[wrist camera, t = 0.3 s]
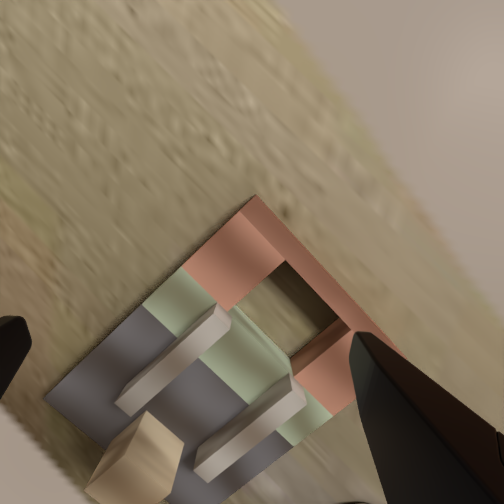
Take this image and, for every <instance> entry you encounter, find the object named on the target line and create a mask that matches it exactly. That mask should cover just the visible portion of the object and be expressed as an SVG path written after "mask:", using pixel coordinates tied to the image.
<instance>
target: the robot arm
mask: <svg viewBox="0 0 504 504" xmlns="http://www.w3.org/2000/svg"><path fill="white" fill-rule="evenodd" d="M31 345H32V339H31V336H30V333H29V330H28V327H27V323H26V321H25V319H24V318H23V317H21V316H3V317H1V318H0V399H1V398H2V396H3V394H4V393H5V391H6V389H7V388H8V386H9V384H10V383H11V381H12V379H13V377H14V376H15V374H16V372H17V371H18V369H19V367H20V366H21V364H22V362H23V360H24V359H25V357H26V355H27V354H28V352H29V350H30V348H31ZM349 365H350V370H351V375H352V380H353V385H354V390H355V395H356V400H357V405H358V409H359V414H360V418H361V422H362V425H363V428H364V432H365V435H366V438H367V441H368V444H369V447H370V450H371V454H372V457H373V460H374V463H375V466H376V469H377V472H378V475H379V479H380V482H381V485H382V488H383V491H384V494H385V497H386V501H387V504H504V435H503V434H502V433H501V432H496V429H495V428H494V427H493V426H491V425H490V424H489V423H488V422H486V421H485V420H484V419H482V418H481V417H480V416H479V415H477V414H476V413H475V412H473V411H472V410H471V409H470V408H468V407H467V406H466V405H464V404H463V403H462V402H460V401H459V400H458V399H457V398H455V397H454V396H453V395H451V394H450V393H449V392H448V391H446V390H445V389H444V388H442V387H441V386H440V385H439V384H437V383H436V382H435V381H433V380H432V379H431V378H429V377H428V376H427V375H426V374H424V373H423V372H422V371H420V370H419V369H418V368H417V367H415V366H414V365H413V364H411V363H410V362H409V361H408V360H406V359H405V358H404V357H402V356H401V355H400V354H399V353H397V352H396V351H395V350H393V349H392V348H391V347H389V346H388V345H387V344H386V343H384V342H383V341H382V340H380V339H379V338H378V337H377V336H375V335H374V334H373V333H371V332H365V331H356V332H355V333H354V335H353V338H352V343H351V347H350V352H349Z"/></svg>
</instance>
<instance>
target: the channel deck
mask: <svg viewBox="0 0 504 504" xmlns="http://www.w3.org/2000/svg"><path fill="white" fill-rule="evenodd" d="M284 260H286V261H287V262H288V263H289V264H290V265H291V266H292V267H293V268H294V269H295V270H296V271H297V272H298V274H299V275H300V276H301V277H302V278H303V279H304V280H305V281H306V282H307V283H308V284H309V285H310V286H311V287H312V288H313V289H314V290H315V292H316V293H317V294H318V295H319V296H320V297H321V298H322V299H323V300H324V301H325V302H326V303H327V304H328V305H329V306H330V307H331V308H332V310H333V311H334V312H335V313H336V314H337V315H338V316H339V318H338V319H337V320H336V321H334V322H333V323H332V324H331V325H330V326H328V327H327V328H326V329H325V330H324V331H322V332H321V333H320V334H319V335H318V336H316V337H315V338H314V339H313V340H312V341H310V342H309V343H308V344H307V345H306V346H304V347H303V348H302V349H301V350H300V351H298V352H297V353H296V354H295V355H294V356H292V357H291V358H289V357H288V356H287V355H286V354H285V353H284V352H283V351H282V350H281V349H280V348H279V347H278V346H277V345H276V344H275V343H274V342H273V341H272V340H271V339H270V338H269V337H267V336H266V335H265V334H264V333H263V332H262V331H261V330H260V329H259V328H258V327H257V326H256V325H255V324H254V323H253V322H252V321H251V320H250V319H249V318H248V317H247V316H246V315H245V314H244V313H243V312H242V311H241V310H240V309H239V308H238V307H237V306H236V305H235V304H236V303H238V302H239V301H240V300H241V299H242V298H243V297H244V296H245V295H247V294H248V293H249V292H250V291H251V290H252V289H253V288H254V287H255V286H257V285H258V284H259V283H260V282H261V281H262V280H263V279H264V278H266V277H267V276H268V275H269V274H270V273H271V272H272V271H273V270H274V269H276V268H277V267H278V266H279V265H280V264H281V263H282V262H283V261H284ZM356 331H365V332H371V333H373V334H374V335H375V336H377V337H378V338H379V339H380V340H382V341H383V342H384V343H386V344H387V345H388V346H389V347H391V348H392V349H393V350H395V351H396V352H397V353H399V354H400V355H401V356H402V357H404V358H405V359H407V358H406V357H405V355H404V354H403V353H402V352H401V351H400V350H399V349H398V348H397V347H396V345H395V344H394V343H393V342H392V341H391V340H390V339H389V338H388V337H387V336H386V334H385V333H384V332H383V331H382V330H381V329H380V328H379V327H378V326H377V325H376V324H375V323H374V321H373V320H372V319H371V318H370V317H369V316H368V315H367V314H366V313H365V312H364V311H363V310H362V308H361V307H360V306H359V305H358V304H357V303H356V302H355V301H354V300H353V299H352V298H351V297H350V295H349V294H348V293H347V292H346V291H345V290H344V289H343V288H342V287H341V286H340V285H339V284H338V282H337V281H336V280H335V279H334V278H333V277H332V276H331V275H330V274H329V273H328V272H327V271H326V269H325V268H324V267H323V266H322V265H321V264H320V263H319V262H318V261H317V260H316V259H315V258H314V257H313V255H312V254H311V253H310V252H309V251H308V250H307V249H306V248H305V247H304V246H303V245H302V244H301V242H300V241H299V240H298V239H297V238H296V237H295V236H294V235H293V234H292V233H291V232H290V231H289V229H288V228H287V227H286V226H285V225H284V224H283V223H282V222H281V221H280V220H279V219H278V218H277V216H276V215H275V214H274V213H273V212H272V211H271V210H270V209H269V208H268V207H267V206H266V205H265V203H264V202H263V201H262V200H261V199H260V198H259V197H258V196H257V195H255V196H254V197H252V198H251V199H250V200H249V201H248V202H247V203H246V204H245V205H244V206H243V207H242V208H241V209H240V210H239V211H238V212H237V213H236V214H235V215H234V216H233V217H232V218H230V219H229V220H228V221H227V222H226V223H225V224H224V225H223V226H222V227H221V228H220V229H219V230H218V231H217V232H216V233H215V234H214V235H213V236H212V237H211V238H210V239H209V240H207V241H206V242H205V243H204V244H203V245H202V246H201V247H200V248H199V249H198V250H197V251H196V252H195V253H194V254H193V255H192V256H191V257H190V258H189V259H188V260H187V261H185V262H184V263H183V264H182V265H181V266H180V267H179V268H178V269H177V270H176V271H175V272H174V273H173V274H172V275H171V276H170V277H169V278H168V279H167V280H166V281H165V282H164V283H162V284H161V285H160V286H159V287H158V288H157V289H156V290H155V291H154V292H153V293H152V294H151V295H150V296H149V297H148V298H147V299H146V300H145V301H144V302H143V303H142V304H140V305H139V306H138V307H137V308H136V309H135V310H134V311H133V312H132V313H131V314H130V315H129V316H128V317H127V318H126V319H125V320H124V321H123V322H122V323H121V324H120V325H119V326H117V327H116V328H115V329H114V330H113V331H112V332H111V333H110V334H109V335H108V336H107V337H106V338H105V339H104V340H103V341H102V342H101V343H100V344H99V345H98V346H97V347H95V348H94V349H93V350H92V351H91V352H90V353H89V354H88V355H87V356H86V357H85V358H84V359H83V360H82V361H81V362H80V363H79V364H78V365H77V366H76V367H75V368H74V369H72V370H71V371H70V372H69V373H68V374H67V375H66V376H65V377H64V378H63V379H62V380H61V381H60V382H59V383H58V384H57V385H56V386H55V387H54V388H53V389H52V390H51V391H50V392H49V393H48V394H47V395H46V396H45V397H44V398H43V399H44V400H45V401H46V402H47V403H49V404H50V405H51V406H52V407H53V408H55V409H56V410H57V411H58V412H60V413H61V414H62V415H63V416H64V417H66V418H67V419H68V420H69V421H70V422H72V423H73V424H74V425H75V426H76V427H78V428H79V429H80V430H81V431H83V432H84V433H85V434H86V435H87V436H89V437H90V438H91V439H92V440H93V441H95V442H96V443H97V444H98V445H100V446H101V447H102V448H103V449H104V450H107V448H108V446H109V444H110V443H111V441H112V440H113V439H114V438H115V437H116V436H118V435H119V434H120V433H121V432H122V431H123V430H124V429H126V428H127V427H128V426H129V425H130V424H131V423H132V422H134V421H135V420H136V419H137V418H138V417H139V416H140V415H142V414H143V413H144V412H145V411H146V410H147V411H148V412H149V413H150V414H151V415H153V416H154V417H155V418H156V419H157V420H158V421H159V422H161V423H162V424H163V425H164V426H165V427H166V428H167V429H169V430H170V431H171V432H172V433H173V434H174V435H175V436H177V437H178V438H179V439H180V440H181V441H182V442H184V446H183V450H182V453H181V457H180V461H179V464H178V468H177V472H176V475H175V479H174V483H173V486H172V490H171V493H170V494H169V495H168V496H166V497H165V498H164V499H165V500H166V501H168V502H169V503H170V504H220V503H221V502H223V501H224V500H225V499H227V498H228V497H229V496H231V495H232V494H233V493H234V492H236V491H237V490H238V489H240V488H241V487H242V486H243V485H245V484H246V483H247V482H249V481H250V480H251V479H253V478H254V477H255V476H256V475H258V474H259V473H260V472H262V471H263V470H264V469H265V468H267V467H268V466H269V465H271V464H272V463H273V462H274V461H276V460H277V459H278V458H280V457H281V456H282V455H284V454H285V453H286V452H287V451H289V450H290V449H291V448H293V447H294V446H295V445H296V444H298V443H299V442H300V441H302V440H303V439H304V438H306V437H307V436H308V435H309V434H311V433H312V432H313V431H315V430H316V429H317V428H318V427H320V426H321V425H322V424H324V423H325V422H326V421H328V420H329V419H330V418H331V417H333V416H334V415H335V414H337V413H338V412H339V411H340V410H342V409H343V408H344V407H346V406H347V405H348V404H349V403H351V402H352V401H353V400H355V399H356V395H355V390H354V385H353V380H352V375H351V370H350V365H349V352H350V347H351V343H352V338H353V335H354V333H355V332H356Z"/></svg>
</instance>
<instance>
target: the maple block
mask: <svg viewBox="0 0 504 504" xmlns="http://www.w3.org/2000/svg"><path fill="white" fill-rule="evenodd" d="M183 446H184V442H182V441H181V440H180V439H179V438H178V437H177V436H175V435H174V434H173V433H172V432H171V431H170V430H169V429H167V428H166V427H165V426H164V425H163V424H162V423H161V422H159V421H158V420H157V419H156V418H155V417H154V416H153V415H151V414H150V413H149V412H148V411H147V410H146V411H145V412H144V413H143V414H142V415H140V416H139V417H138V418H137V419H136V420H135V421H134V422H132V423H131V424H130V425H129V426H128V427H127V428H126V429H124V430H123V431H122V432H121V433H120V434H119V435H118V436H116V437H115V438H114V439H113V440H112V441H111V443H110V444H109V446H108V448H107V450H106V451H105V453H104V455H103V457H102V459H101V460H100V462H99V464H98V466H97V467H96V469H95V471H94V473H93V475H92V476H91V478H90V480H89V482H88V483H87V485H86V487H85V489H84V491H85V492H86V493H88V494H89V495H90V496H91V497H93V498H94V499H95V500H96V501H98V502H99V503H100V504H158V503H159V502H160V501H162V500H163V499H164V498H165V497H166V496H168V495H169V494H170V493H171V490H172V486H173V483H174V479H175V475H176V472H177V468H178V464H179V461H180V457H181V453H182V450H183Z"/></svg>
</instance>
